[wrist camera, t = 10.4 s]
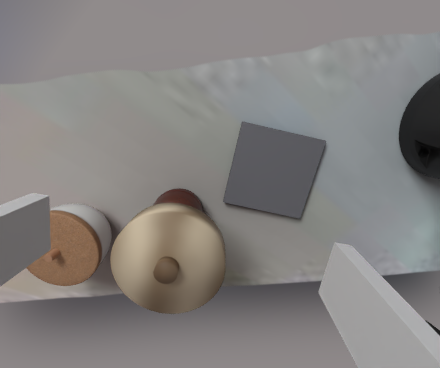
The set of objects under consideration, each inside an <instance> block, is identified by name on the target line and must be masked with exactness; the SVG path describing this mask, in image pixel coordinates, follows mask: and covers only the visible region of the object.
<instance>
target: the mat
mask: <svg viewBox="0 0 440 368" xmlns="http://www.w3.org/2000/svg"><path fill="white" fill-rule="evenodd" d="M325 144H326V141H324V140H320V139H316V138H311V137H307V136H303V135H298V134H294V133H290V132H285V131H281V130H277V129H272V128H268V127H264V126H259V125H255V124H251V123H246V122H242V124H241V129H240V133H239V137H238V141H237V145H236V149H235V154H234V158H233V162H232V166H231V170H230V175H229V179H228V183H227V187H226V191H225V195H224V200H223V202H225V203H229V204H234V205H239V206H243V207H248V208H253V209H257V210H262V211H267V212H271V213H276V214H281V215H285V216H290V217H295V218H299V219H300V218H301V215H302V212H303V209H304V206H305V203H306V200H307V197H308V194H309V191H310V188H311V185H312V182H313V179H314V176H315V173H316V170H317V167H318V164H319V161H320V158H321V156H322V153H323V150H324V147H325Z"/></svg>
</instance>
